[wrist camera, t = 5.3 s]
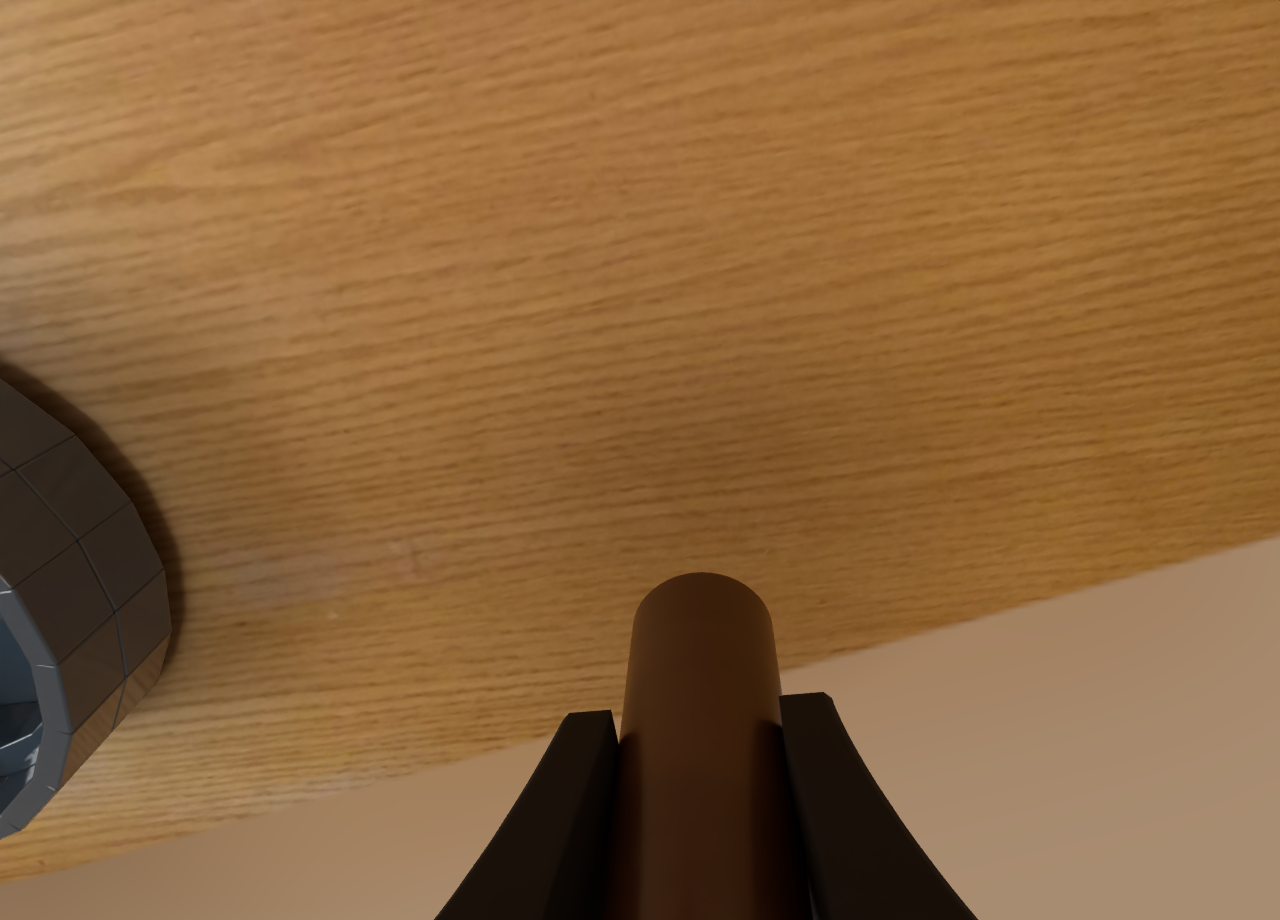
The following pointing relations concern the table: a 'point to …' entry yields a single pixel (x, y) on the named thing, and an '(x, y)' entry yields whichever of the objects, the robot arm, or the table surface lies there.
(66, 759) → the bowl
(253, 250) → the table surface
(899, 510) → the table surface
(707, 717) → the brown wooden dowel
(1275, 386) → the table surface
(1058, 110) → the table surface
